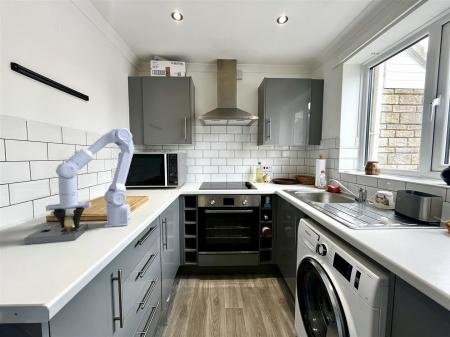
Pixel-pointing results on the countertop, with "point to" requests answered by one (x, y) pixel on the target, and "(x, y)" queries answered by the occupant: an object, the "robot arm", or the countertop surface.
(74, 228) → the pipe stub
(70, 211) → the showerhead
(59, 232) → the fitting plate
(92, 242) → the countertop surface
